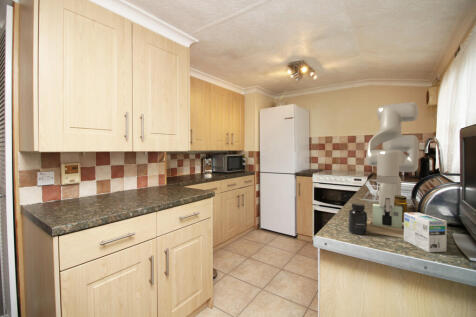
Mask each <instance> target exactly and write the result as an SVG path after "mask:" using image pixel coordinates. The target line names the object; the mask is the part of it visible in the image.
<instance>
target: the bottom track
mask: <svg viewBox="0 0 476 317" xmlns="http://www.w3.org/2000/svg"><path fill="white" fill-rule="evenodd" d="M372 223H373V220H370V219H369V220H368V219H367V233H370V234H375V235H376V234H379V235H383V236H390V237H395V238H396V237H397V238H401V239H404V224H402V229H397V228H391V227H384V226H377V225H372Z"/></svg>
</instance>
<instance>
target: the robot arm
mask: <svg viewBox="0 0 476 317" xmlns="http://www.w3.org/2000/svg"><path fill="white" fill-rule="evenodd" d="M376 116H377V118H378V122H379V131H378V132H376V133H375V134H374V135H373V136H372V137H371V139H369V141H368V143H367V146H366V153H365V154H366V156H365V159H366V164H367V165H368V166H371V167H376V184H379V186H378V205H379V207H380V208H381V207H383V215H382V224H383V225H388V226H391V225H392V216H391V209H393V208H394V198H395V195H399V196H402V178H401V177H400V172H401V173H415V172H417V171H418V168H419V152H420V150H419V149H420V148H419V147H420V146H419V145H420V144H419V143H420V142H419V138H418V137H417V136H416V135H414V134H402V123H404V122H406V123H407V122H415V121H416V120H417V119H418V116H419V107H418V105H417V103H416V102H414V101H411V102H410V101H409V102H401V103H400V102H399V103H391V104H384V105H380V106H378V108H376ZM381 144H382V148H383V149H376V148H377V147H378V146H379V145H381ZM405 153H406V154H405ZM384 206H386V208H384ZM389 207H390V208H389ZM385 209H386V210H385Z"/></svg>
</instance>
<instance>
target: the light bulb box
mask: <svg viewBox="0 0 476 317" xmlns="http://www.w3.org/2000/svg"><path fill="white" fill-rule="evenodd" d="M403 225H404V238H403V241H405V242H407V243H409V244H410V245H413V246H415V247H417V248H419V249H421V250H423V251H425V252H427V253H443V252H444V253H445V252H447V240H448V239H447V235H448V233H447V231H448V230H447V229H448V228H447V227H448V221H447V219H442V218H438V217H435V216H432V215H428V214H426V213H422V212H407V213H404V224H403Z"/></svg>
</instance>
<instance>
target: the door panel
mask: <svg viewBox="0 0 476 317" xmlns="http://www.w3.org/2000/svg"><path fill="white" fill-rule="evenodd" d="M384 208H386V206H384ZM389 208H390V207H389ZM385 210H386V209H385ZM382 215H383V207H381V208H380V207H379V203H373V204H372V221H373V223H372V225H377V226H384V227H391V228H397V229H402V225H403V224H402V207H397V206H394V208H393V209H391V216H392V225H391V226H388V225H383V224H382Z"/></svg>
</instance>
